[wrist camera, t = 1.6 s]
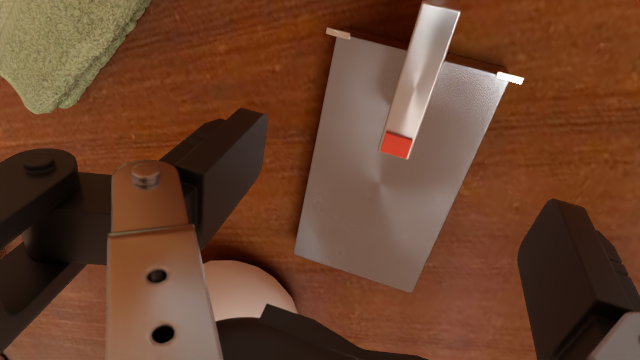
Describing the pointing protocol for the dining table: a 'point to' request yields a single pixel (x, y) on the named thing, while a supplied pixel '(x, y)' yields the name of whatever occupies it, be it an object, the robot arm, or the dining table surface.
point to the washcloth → (60, 46)
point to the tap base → (390, 160)
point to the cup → (243, 290)
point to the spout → (419, 75)
